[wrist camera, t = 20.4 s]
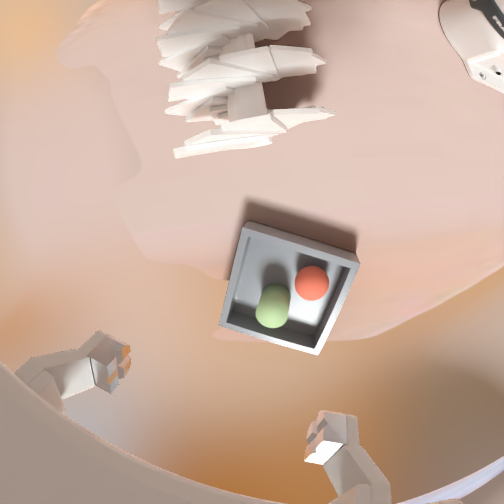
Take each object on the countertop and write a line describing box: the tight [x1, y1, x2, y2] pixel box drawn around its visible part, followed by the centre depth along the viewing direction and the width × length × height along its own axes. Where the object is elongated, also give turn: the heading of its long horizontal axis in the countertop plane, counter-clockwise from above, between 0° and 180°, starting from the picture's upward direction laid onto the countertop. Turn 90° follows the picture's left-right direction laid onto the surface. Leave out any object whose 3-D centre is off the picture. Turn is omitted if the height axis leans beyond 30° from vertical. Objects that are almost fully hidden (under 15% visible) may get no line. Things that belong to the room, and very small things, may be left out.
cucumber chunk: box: [256, 284, 291, 328], centre depth 40 cm, size 4×4×5 cm
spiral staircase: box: [156, 0, 335, 159], centre depth 24 cm, size 18×18×25 cm
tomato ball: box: [294, 266, 329, 301], centre depth 38 cm, size 5×5×5 cm
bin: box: [219, 220, 360, 355], centre depth 40 cm, size 16×16×4 cm
